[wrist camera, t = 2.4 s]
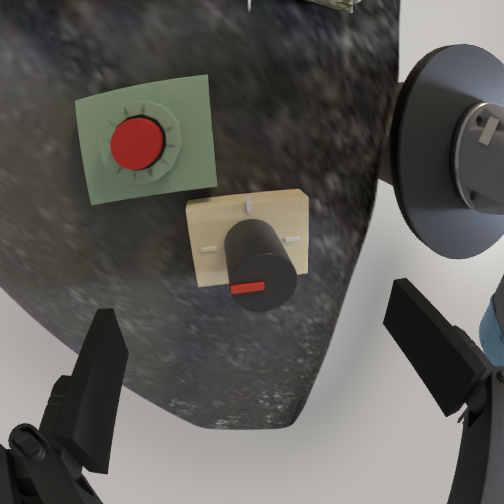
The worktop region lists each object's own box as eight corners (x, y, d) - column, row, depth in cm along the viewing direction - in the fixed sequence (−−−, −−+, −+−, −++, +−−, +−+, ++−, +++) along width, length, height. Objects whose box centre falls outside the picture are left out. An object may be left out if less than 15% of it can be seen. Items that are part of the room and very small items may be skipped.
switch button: (160, 114, 21) (156, 114, 20) (166, 162, 23) (162, 165, 22) (113, 123, 21) (107, 124, 20) (120, 169, 23) (114, 173, 21)
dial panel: (299, 182, 29) (309, 191, 27) (299, 264, 33) (307, 279, 31) (186, 194, 28) (184, 203, 25) (199, 276, 32) (199, 293, 30)
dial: (276, 215, 27) (299, 251, 21) (278, 264, 30) (298, 309, 23) (221, 221, 27) (226, 260, 20) (226, 270, 29) (233, 318, 23)
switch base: (207, 77, 24) (207, 71, 20) (216, 181, 28) (218, 192, 25) (83, 101, 23) (66, 100, 19) (98, 198, 27) (84, 211, 23)
